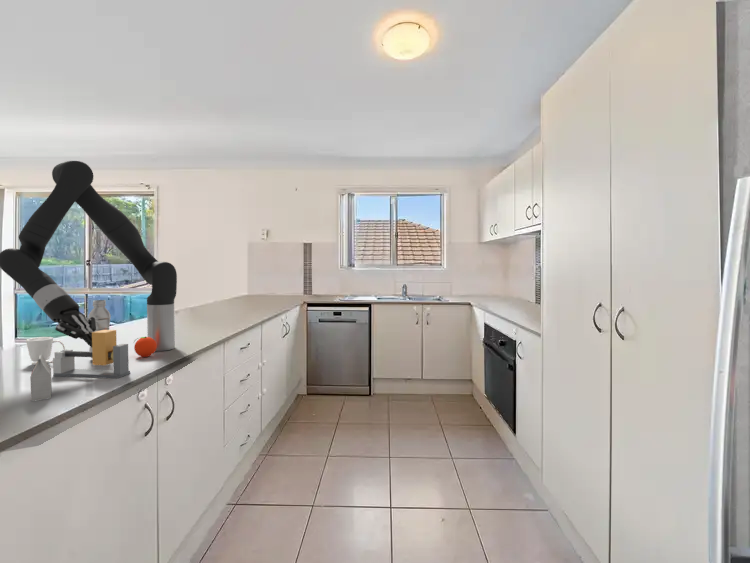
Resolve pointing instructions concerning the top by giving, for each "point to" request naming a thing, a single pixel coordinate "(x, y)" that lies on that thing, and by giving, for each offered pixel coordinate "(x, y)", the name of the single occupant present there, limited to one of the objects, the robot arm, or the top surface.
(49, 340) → the cup
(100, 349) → the sleeve
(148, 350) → the clementine
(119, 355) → the gray horizontal rod stand
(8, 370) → the top surface
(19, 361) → the top surface
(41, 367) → the milk carton
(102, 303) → the plastic bottle
